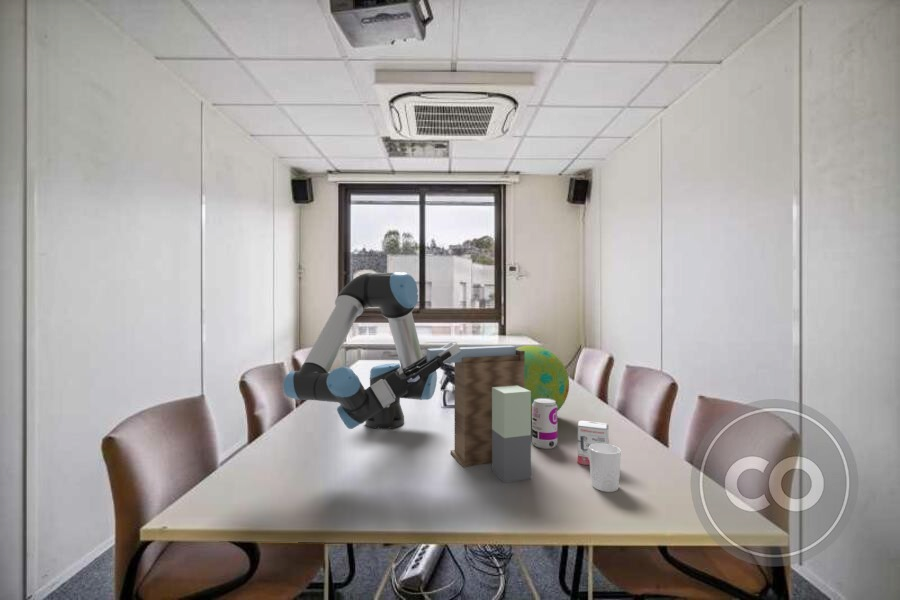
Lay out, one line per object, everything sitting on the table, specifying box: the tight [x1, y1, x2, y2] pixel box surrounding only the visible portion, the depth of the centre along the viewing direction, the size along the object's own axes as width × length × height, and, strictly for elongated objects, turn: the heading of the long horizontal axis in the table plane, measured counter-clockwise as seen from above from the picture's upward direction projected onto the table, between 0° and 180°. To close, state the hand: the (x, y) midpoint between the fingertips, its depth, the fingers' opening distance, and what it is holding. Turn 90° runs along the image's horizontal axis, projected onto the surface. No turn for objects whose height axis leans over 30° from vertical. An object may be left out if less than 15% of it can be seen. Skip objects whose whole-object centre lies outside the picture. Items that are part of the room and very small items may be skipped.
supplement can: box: [531, 398, 558, 450], centre depth 139 cm, size 8×8×15 cm
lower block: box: [491, 430, 532, 484], centre depth 116 cm, size 8×8×12 cm
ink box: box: [577, 420, 609, 466], centre depth 124 cm, size 9×5×12 cm, turn 68°
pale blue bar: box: [426, 344, 517, 364], centre depth 128 cm, size 28×4×4 cm, turn 108°
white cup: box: [589, 443, 622, 493], centre depth 109 cm, size 8×8×10 cm
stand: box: [450, 349, 525, 467], centre depth 130 cm, size 22×11×33 cm, turn 108°
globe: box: [516, 345, 570, 422], centre depth 170 cm, size 30×30×30 cm
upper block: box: [492, 385, 532, 438], centre depth 116 cm, size 8×8×12 cm
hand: (455, 346), depth 127 cm, fingers closed on pale blue bar, 4 cm apart
